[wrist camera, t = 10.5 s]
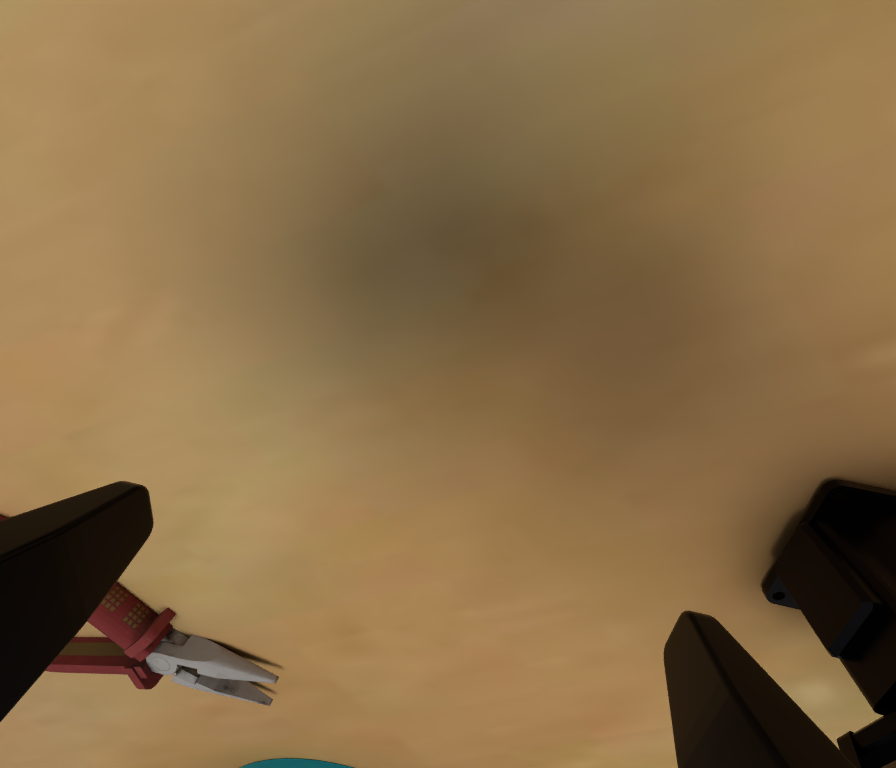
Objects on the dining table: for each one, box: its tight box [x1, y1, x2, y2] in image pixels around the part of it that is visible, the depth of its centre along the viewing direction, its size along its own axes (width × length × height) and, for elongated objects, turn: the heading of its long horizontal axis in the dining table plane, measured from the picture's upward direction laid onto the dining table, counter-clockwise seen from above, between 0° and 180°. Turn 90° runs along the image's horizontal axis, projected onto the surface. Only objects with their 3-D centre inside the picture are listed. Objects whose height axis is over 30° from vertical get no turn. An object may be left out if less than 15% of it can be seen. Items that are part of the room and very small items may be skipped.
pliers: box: [0, 515, 279, 706], centre depth 29 cm, size 12×20×3 cm, turn 71°
